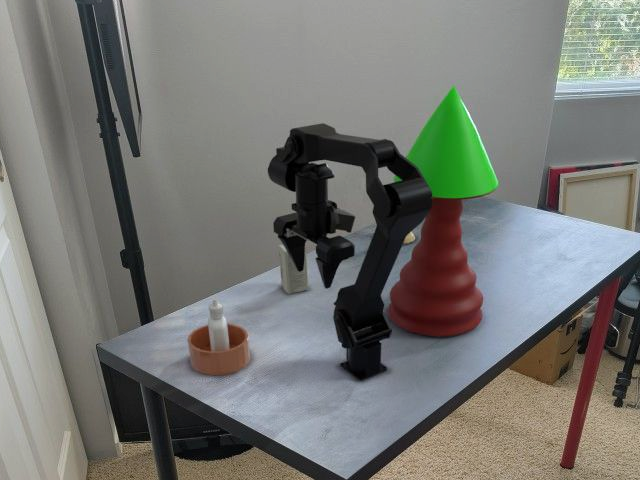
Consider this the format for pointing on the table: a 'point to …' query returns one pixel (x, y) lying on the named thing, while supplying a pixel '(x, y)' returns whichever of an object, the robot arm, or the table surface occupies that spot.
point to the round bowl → (219, 360)
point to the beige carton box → (292, 273)
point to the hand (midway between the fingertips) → (313, 279)
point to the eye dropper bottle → (218, 328)
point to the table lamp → (444, 227)
